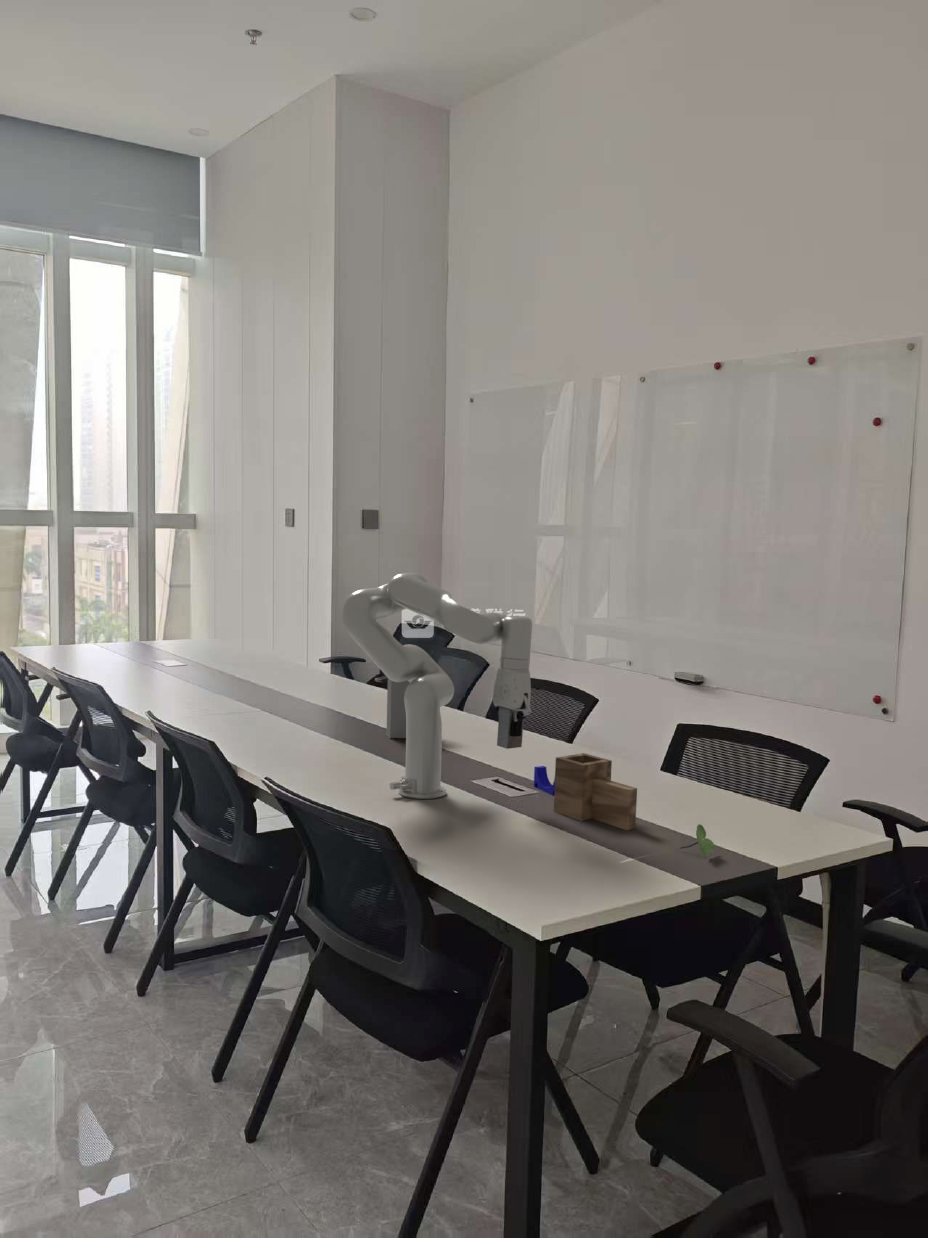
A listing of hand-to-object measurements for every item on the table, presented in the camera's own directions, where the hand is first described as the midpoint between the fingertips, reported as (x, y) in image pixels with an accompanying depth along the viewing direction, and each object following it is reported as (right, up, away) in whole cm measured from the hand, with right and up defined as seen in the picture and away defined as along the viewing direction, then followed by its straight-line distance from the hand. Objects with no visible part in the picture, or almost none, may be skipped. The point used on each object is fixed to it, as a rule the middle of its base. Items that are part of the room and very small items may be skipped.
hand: (510, 733), depth 266 cm
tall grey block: (-31, -11, +81) cm, 87 cm away
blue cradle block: (+12, -18, +17) cm, 28 cm away
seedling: (+38, -23, -31) cm, 54 cm away
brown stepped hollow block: (+22, -20, -8) cm, 31 cm away
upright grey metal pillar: (0, -3, 0) cm, 3 cm away
